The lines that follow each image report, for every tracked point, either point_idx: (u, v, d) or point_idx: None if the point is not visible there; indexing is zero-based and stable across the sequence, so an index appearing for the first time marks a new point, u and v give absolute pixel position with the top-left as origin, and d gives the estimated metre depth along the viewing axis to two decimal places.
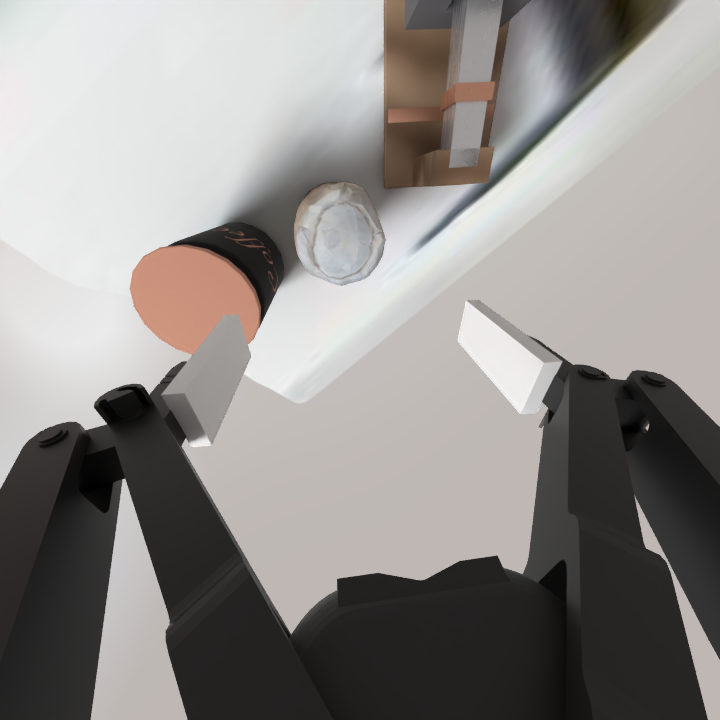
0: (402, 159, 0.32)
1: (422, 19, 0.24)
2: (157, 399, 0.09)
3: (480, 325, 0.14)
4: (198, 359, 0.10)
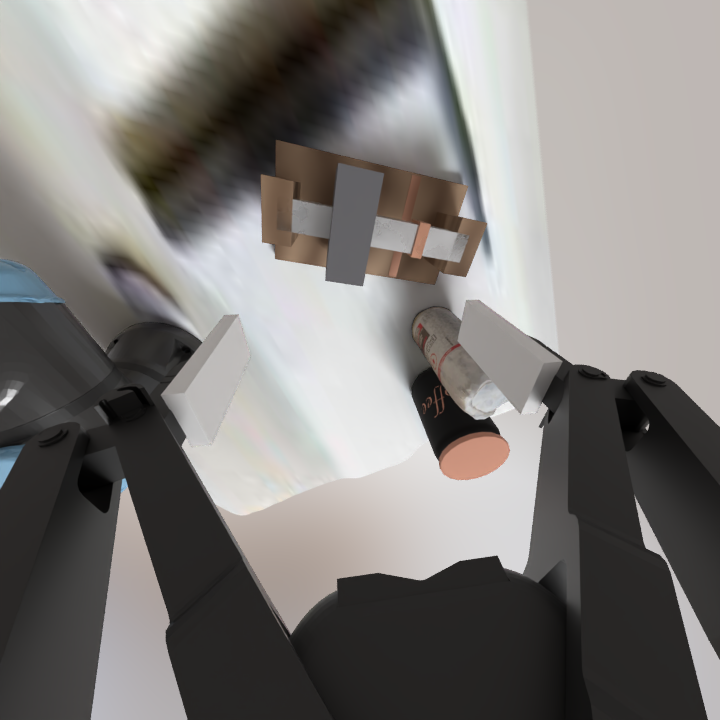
0: (420, 268, 0.39)
1: None
2: (157, 399, 0.09)
3: (480, 325, 0.14)
4: (198, 359, 0.10)
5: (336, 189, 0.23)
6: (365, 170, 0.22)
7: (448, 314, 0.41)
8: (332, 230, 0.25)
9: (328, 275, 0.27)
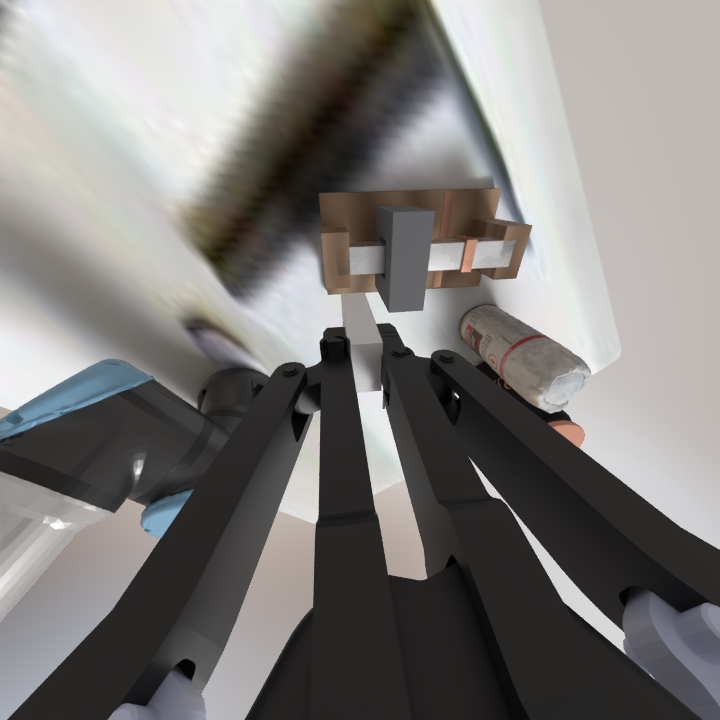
0: (463, 274, 0.40)
1: None
2: None
3: None
4: (353, 323, 0.13)
5: (393, 234, 0.25)
6: (417, 212, 0.24)
7: (497, 311, 0.42)
8: (392, 269, 0.27)
9: (391, 308, 0.29)
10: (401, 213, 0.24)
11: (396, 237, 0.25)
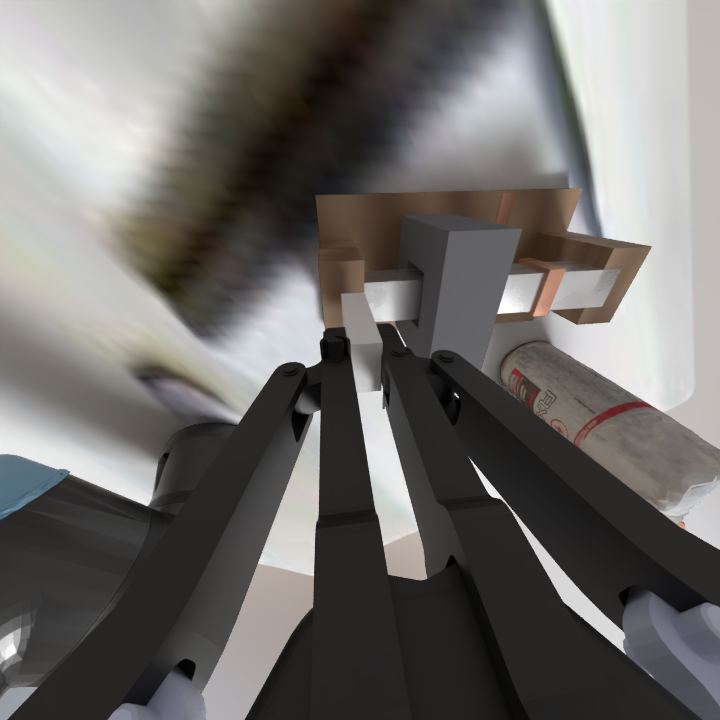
0: None
1: None
2: None
3: None
4: (353, 323, 0.13)
5: (444, 269, 0.14)
6: (492, 231, 0.14)
7: (556, 353, 0.31)
8: (437, 323, 0.16)
9: None
10: (463, 233, 0.13)
11: (449, 273, 0.15)
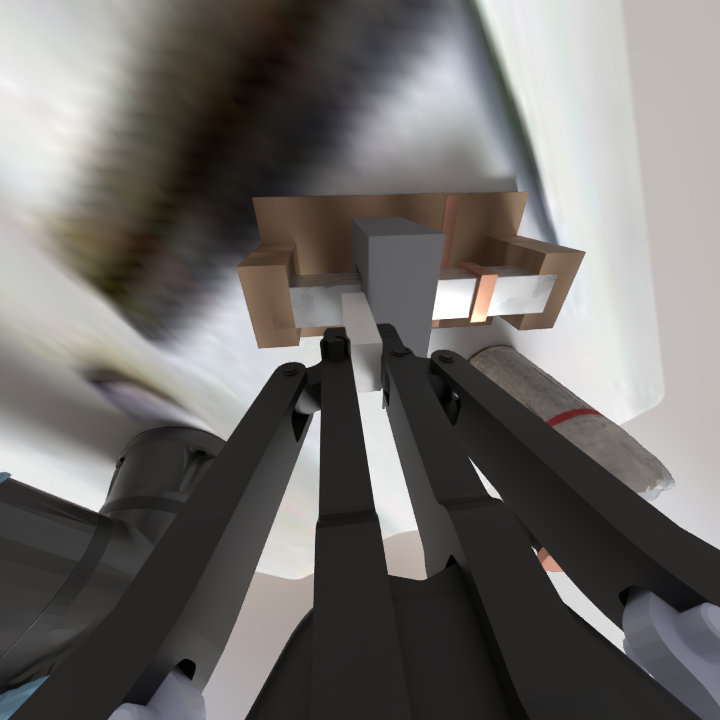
0: None
1: None
2: None
3: None
4: (353, 323, 0.13)
5: (370, 274, 0.14)
6: (414, 236, 0.13)
7: (515, 358, 0.31)
8: None
9: None
10: (383, 238, 0.13)
11: (375, 279, 0.14)
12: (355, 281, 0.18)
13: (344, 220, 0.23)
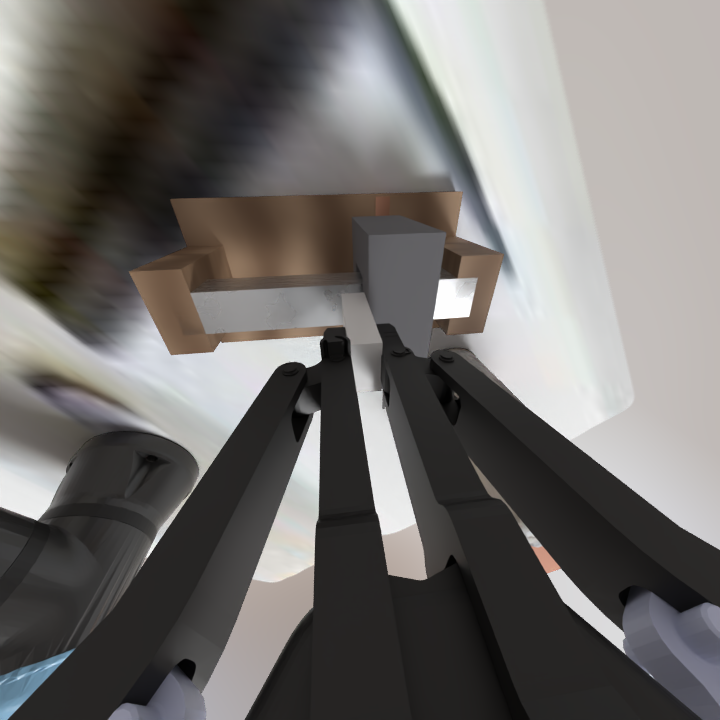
0: None
1: None
2: None
3: None
4: (353, 323, 0.13)
5: (370, 273, 0.14)
6: (414, 235, 0.13)
7: None
8: None
9: None
10: (383, 237, 0.13)
11: (376, 278, 0.14)
12: (263, 285, 0.18)
13: (271, 221, 0.22)
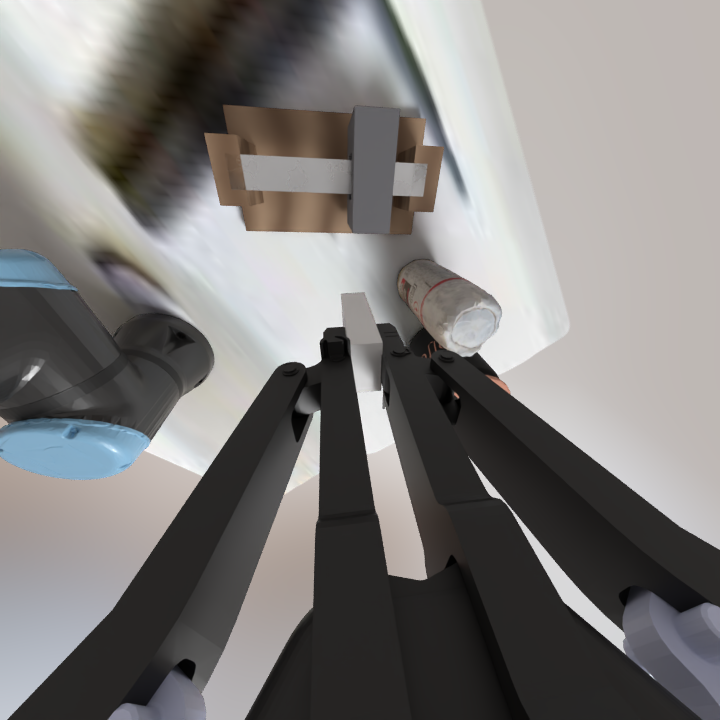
0: (393, 219, 0.38)
1: None
2: None
3: None
4: (353, 323, 0.13)
5: (355, 134, 0.23)
6: (381, 108, 0.23)
7: (430, 263, 0.40)
8: (355, 178, 0.25)
9: (354, 227, 0.28)
10: (363, 107, 0.23)
11: (358, 138, 0.24)
12: (287, 157, 0.27)
13: (290, 129, 0.31)
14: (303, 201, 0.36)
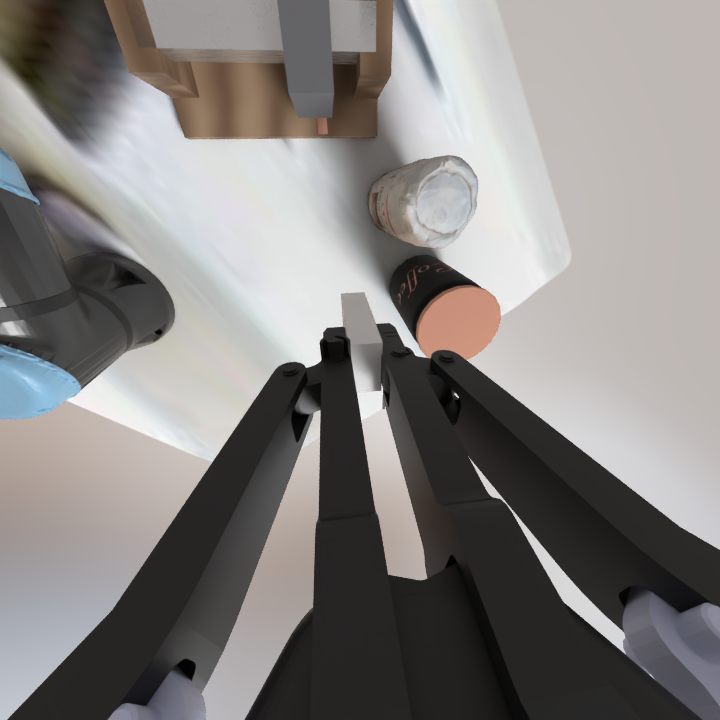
0: (353, 115, 0.33)
1: None
2: None
3: None
4: (353, 323, 0.13)
5: None
6: None
7: None
8: (279, 5, 0.20)
9: (289, 83, 0.22)
10: None
11: None
12: None
13: None
14: (245, 94, 0.31)
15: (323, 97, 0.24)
